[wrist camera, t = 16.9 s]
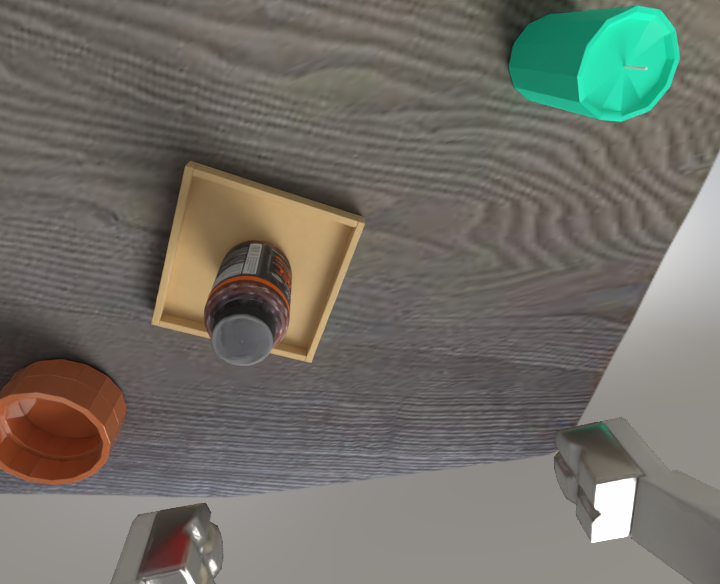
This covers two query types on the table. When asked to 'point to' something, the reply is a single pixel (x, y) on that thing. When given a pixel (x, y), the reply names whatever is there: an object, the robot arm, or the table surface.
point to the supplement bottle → (249, 303)
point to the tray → (263, 223)
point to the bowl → (58, 421)
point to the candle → (597, 61)
